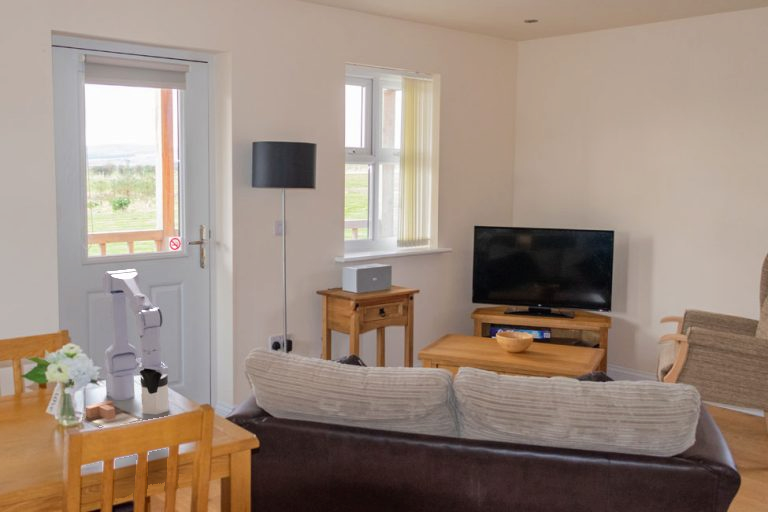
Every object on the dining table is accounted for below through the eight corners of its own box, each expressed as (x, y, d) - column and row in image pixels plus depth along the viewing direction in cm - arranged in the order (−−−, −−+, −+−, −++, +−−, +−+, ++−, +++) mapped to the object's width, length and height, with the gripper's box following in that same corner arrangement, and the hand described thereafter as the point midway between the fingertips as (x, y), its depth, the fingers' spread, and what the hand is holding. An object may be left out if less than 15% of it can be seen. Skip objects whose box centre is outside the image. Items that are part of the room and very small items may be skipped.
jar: (142, 409, 253) (140, 372, 251) (168, 406, 255) (167, 370, 253) (142, 418, 244) (140, 381, 243) (169, 416, 247) (168, 378, 245)
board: (71, 418, 245) (71, 414, 245) (110, 407, 255) (110, 404, 254) (105, 434, 232) (105, 430, 232) (144, 422, 242) (144, 418, 241)
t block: (86, 416, 244) (85, 406, 243) (110, 409, 250) (109, 400, 249) (99, 422, 239) (98, 412, 238) (123, 415, 245) (123, 405, 244)
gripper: (125, 347, 238) (127, 390, 240) (152, 356, 229) (155, 401, 231) (146, 342, 243) (148, 385, 246) (173, 351, 234) (175, 395, 236)
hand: (152, 392), depth 239 cm, fingers closed
